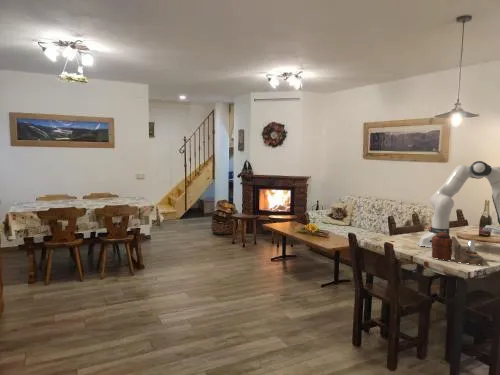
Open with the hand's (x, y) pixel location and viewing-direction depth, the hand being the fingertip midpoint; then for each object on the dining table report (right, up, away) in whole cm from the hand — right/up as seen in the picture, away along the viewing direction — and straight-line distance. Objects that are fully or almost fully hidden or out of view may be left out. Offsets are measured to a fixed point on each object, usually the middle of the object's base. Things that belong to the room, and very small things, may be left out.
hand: (488, 230), depth 234 cm
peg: (-12, -18, 0) cm, 22 cm away
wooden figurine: (-32, -19, 0) cm, 37 cm away
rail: (-15, -18, 0) cm, 24 cm away
